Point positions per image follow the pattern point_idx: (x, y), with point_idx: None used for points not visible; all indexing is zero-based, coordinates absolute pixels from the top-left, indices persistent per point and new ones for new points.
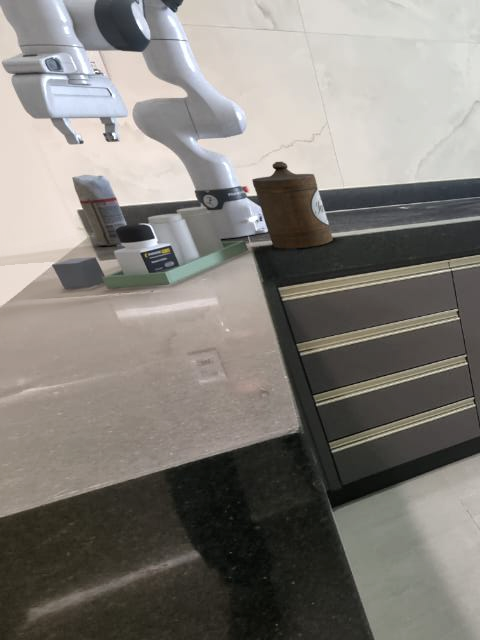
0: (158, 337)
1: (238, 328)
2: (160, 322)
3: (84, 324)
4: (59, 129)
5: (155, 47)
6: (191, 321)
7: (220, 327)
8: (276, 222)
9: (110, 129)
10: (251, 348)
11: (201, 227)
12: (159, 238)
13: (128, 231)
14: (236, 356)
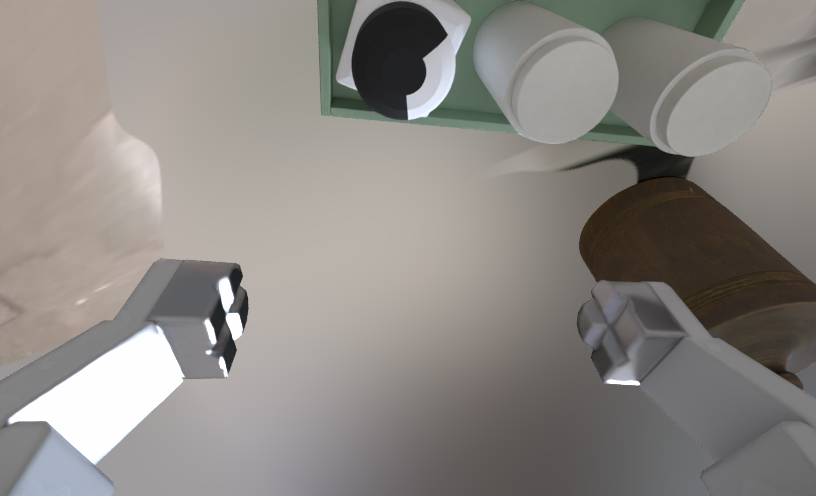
0: (32, 240)
1: (89, 309)
2: (92, 209)
3: (51, 72)
4: (31, 378)
5: None
6: (104, 249)
7: (88, 291)
8: (621, 255)
9: (686, 392)
10: (34, 339)
11: (627, 118)
12: (499, 57)
13: (353, 78)
14: (10, 335)
